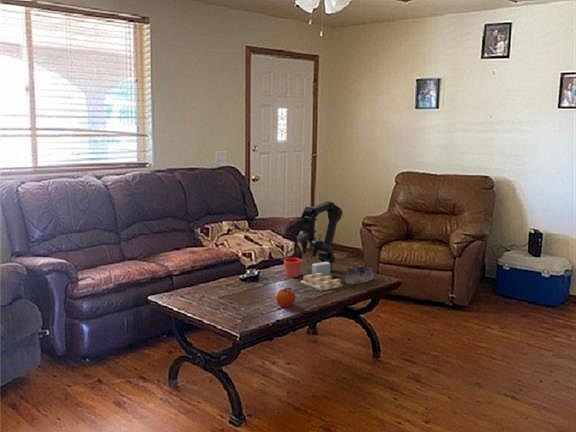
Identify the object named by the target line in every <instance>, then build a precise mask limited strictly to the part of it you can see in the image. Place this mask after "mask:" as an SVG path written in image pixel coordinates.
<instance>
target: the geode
mask: <svg viewBox="0 0 576 432" xmlns="http://www.w3.org/2000/svg"><path fill="white" fill-rule="evenodd" d="M372 269H373V268H372V266H369V265H358V266H357V267H353V268H350V267H348V268H347V271H346V272H347V273H346V274H345V280H344V283H346V285H351V286H352V285H353V286H355V285H356V286H357V285H359V284H363V283H367V282H369V281H372V280H373V279H374V273H373V272H372Z"/></svg>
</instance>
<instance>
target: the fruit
mask: <svg viewBox="0 0 576 432" xmlns="http://www.w3.org/2000/svg"><path fill="white" fill-rule="evenodd" d="M275 300H276V303H277V305H278V306H280V307H281V308H290V307H292V306H293V305H294V304H295V301H296V294H295V292H294V290H292V288H291V287H284V288H283V289H279V290H278V292H277V294H276V296H275Z"/></svg>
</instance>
